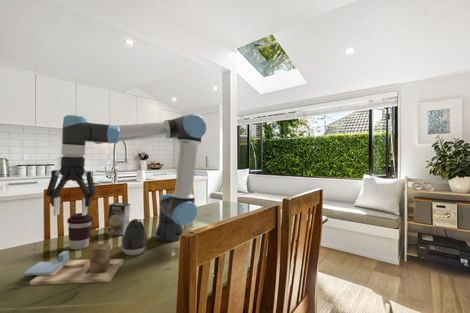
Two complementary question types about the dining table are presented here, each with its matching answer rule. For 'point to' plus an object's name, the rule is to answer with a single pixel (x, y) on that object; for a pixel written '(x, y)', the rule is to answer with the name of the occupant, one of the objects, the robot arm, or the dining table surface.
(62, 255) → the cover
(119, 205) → the coffee box
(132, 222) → the dark grey rounded dome
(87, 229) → the coffee cup
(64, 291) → the dining table surface
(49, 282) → the board
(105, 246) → the block
